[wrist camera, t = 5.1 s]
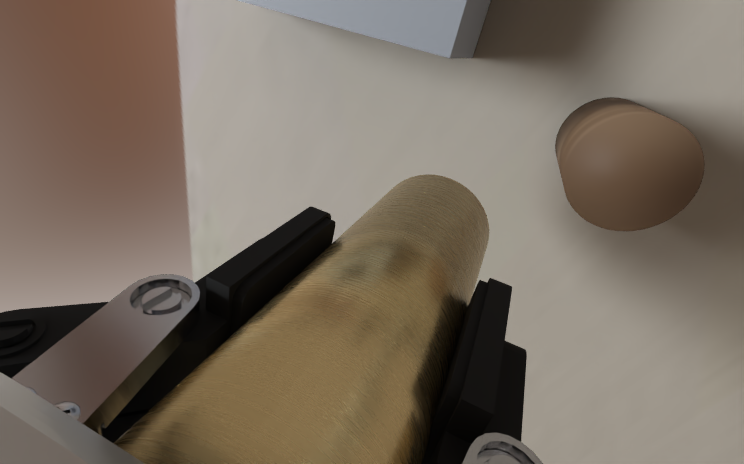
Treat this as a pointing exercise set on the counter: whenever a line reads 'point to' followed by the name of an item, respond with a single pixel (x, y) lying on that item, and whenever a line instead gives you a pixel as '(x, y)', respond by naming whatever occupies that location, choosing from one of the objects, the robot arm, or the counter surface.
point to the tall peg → (337, 347)
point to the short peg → (627, 164)
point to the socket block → (398, 20)
